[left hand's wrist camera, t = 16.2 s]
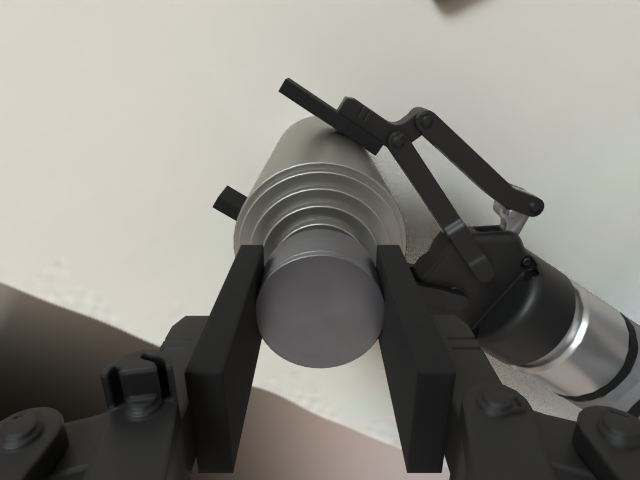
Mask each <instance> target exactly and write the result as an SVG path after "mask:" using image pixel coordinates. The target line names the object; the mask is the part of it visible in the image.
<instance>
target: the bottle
mask: <svg viewBox="0 0 640 480" xmlns="http://www.w3.org/2000/svg"><path fill="white" fill-rule="evenodd" d="M314 229H327V230H333V231H337V232H341V233H343V234H346V235H348V236H350V237H351V238H353V239H355V240H356V241H357V242H359V243H360V244H361V245H362V246H363V247H364V248H365V249H366V250H367V252H368V253H369V254H370V256H371V258H372V260H373V261H374V264H375V267H376V252H377V245H399V246H400V248H401V250H402V252H403V254H404V257H405V254H406V248H407V236H406V228H405V224H404V220H403V217H402V214H401V212H400V210H399V208H398V206H397V204H396V202H395V200H394V198H393V197H392V195H391V193H390V191H389V190H388V188H387V186H386V184H385V182H384V181H383V179H382V177H381V175H380V174H379V172H378V170H377V168H376V166H375V165H374V163H373V161H372V159H371V158H370V156H369V154H368V152H367V150H366V149H365V148H363V147H362V146H360V145H359V144H357V143H356V142H354V141H353V140H351V139H350V138H348V137H347V136H345V135H344V134H342V133H341V132H339V131H338V130H336V129H335V128H333V127H332V126H330V125H329V124H327V123H325V122H324V121H322V120H321V119H319V118H318V117H316V116H314V117H309V118H306V119H303V120H300V121H299V122H297V123H295V124H294V125H292V126H291V127H290V128H289V129H288V130H287V131H286V132H285V133H284V134H283V135H282V137H281V139H280V140H279V142H278V144H277V146H276V147H275V149H274V151H273V153H272V155H271V156H270V158H269V160H268V162H267V163H266V165H265V167H264V169H263V171H262V172H261V174H260V176H259V178H258V179H257V181H256V183H255V185H254V187H253V188H252V190H251V192H250V194H249V196H248V197H247V199H246V201H245V203H244V204H243V206H242V209H241V211H240V213H239V215H238V218H237V222H236V225H235V231H234V252H235V257H236V255H237V253H238V251H239V248H240V246H241V245H263V247H264V265H266V263H267V260H268V258H269V257H270V255H271V253H272V252H273V251H274V250H275V248H276V247H277V246H278V245H279V244H281V243H282V242H283V241H284V240H286V239H287V238H289V237H291V236H293V235H295V234H297V233H300V232H303V231H307V230H314Z"/></svg>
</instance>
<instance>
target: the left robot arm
mask: <svg viewBox="0 0 640 480" xmlns="http://www.w3.org/2000/svg"><path fill="white" fill-rule="evenodd" d="M264 269H265V265H264V247H263V245H241V246H240V248H239V251H238V253H237V255H236V257H235V260H234V262H233V264H232V266H231V269H230V271H229V273H228V275H227V277H226V280H225V282H224V284H223V286H222V289H221V291H220V293H219V295H218V298H217V300H216V302H215V304H214V307H213V309H212V311H211V313H210V316H185V317H184V318H182V319H181V320H180V321H179V322H177V323H176V324H175V325H173V326H172V328H171V330H170V331H169V333H168V335H167V337H166V338H165V341H164V342H163V344H162V345H161V347H160V351H157V350H141V351H136V352H132V353H128V354H126V355H124V356H122V357H119V358H117V359H116V360H114V361H113V362H112V363H110V364H109V365H107V366H106V368H105V369H104V370H103V372H102V373H101V374H100V377H101V381H102V385H103V389H104V394H105V398H106V402H107V406H108V411H107V412H106V413H103V414H100V415H97V416H93V417H89V418H85V419H81V420H76V421H72V422H68V423H64V421H63V417H62V415H61V414H60V413H59V412H58V411H57V410H56V409H52V408H48V407H40V408H31V409H27V410H24V411H21V412H18V413H15V414H13V415H11V416H10V417H8V418H6V419H4V420H2V421H0V480H191V479H190V474H191V471H192V468H193V464H194V461H195V458H197V464H198V471H199V473H233V471H234V466H235V461H236V457H237V452H238V447H239V443H240V438H241V433H242V429H243V424H244V419H245V415H246V410H247V405H248V401H249V396H250V391H251V387H252V382H253V377H254V373H255V368H256V364H257V359H258V354H259V350H260V345H261V340H262V337H261V335H260V333H259V331H258V328H257V318H256V298H257V294H258V290H259V287H260V283H261V279H262V276H263V272H264ZM376 270H377V274H378V278H379V281H380V285H381V288H382V292H383V295H384V299H385V306H384V322H383V329H382V331H381V334H380V336H379V337H378V339H379V344H380V348H381V353H382V358H383V362H384V367H385V372H386V376H387V381H388V386H389V390H390V395H391V400H392V404H393V409H394V414H395V418H396V423H397V428H398V432H399V437H400V442H401V446H402V451H403V455H404V460H405V465H406V469H407V473H441V472H442V466H443V460H444V455H445V458H446V461H447V465H448V468H449V471H450V479H449V480H640V419H638V418H636V417H635V416H633V415H631V414H629V413H627V412H625V411H622V410H619V409H616V408H613V407H608V406H598V405H595V406H590V407H585V408H584V409H583V410H582V411H581V412H580V413H579V415H578V418H577V422H575V421H571V420H567V419H563V418H558V417H554V416H550V415H546V414H543V413H539V412H536V411H534V410H532V408H531V406H530V405H529V403H528V401H527V400H526V399H525V398H524V397H523V396H522V395H521V394H519V393H518V392H517V391H516V390H513V389H511V388H509V387H507V386H505V385H503V384H502V383H501V381H500V380H499V378H498V376H497V374H496V373H495V371H494V369H493V367H492V366H491V364H490V362H489V360H488V359H487V357H486V355H485V354H484V352H483V350H481V347H480V345H479V343H478V341H477V340H475V336H474V334H473V333H472V331H471V329H470V327H469V326H468V325H467V324H466V323H465V322H464V321H462V320H461V319H460V318H458V317H457V316H456V315H430V313H429V310H428V308H427V306H426V304H425V302H424V299H423V297H422V295H421V293H420V290H419V288H418V286H417V284H416V281H415V279H414V277H413V275H412V272H411V270H410V268H409V266H408V263H407V261H406V259H405V257H404V254H403V252H402V250H401V248H400V246H399V245H377V252H376Z"/></svg>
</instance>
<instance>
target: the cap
mask: <svg viewBox="0 0 640 480" xmlns="http://www.w3.org/2000/svg"><path fill="white" fill-rule="evenodd" d="M384 306H385V299H384V295H383V292H382V288H381V285H380V281H379V278H378V274H377V270H376V267H375V264H374V261H373V260H372V258H371V256H370V254H369V253H368V252H367V250H366V249H365V248H364V247H363V246H362V245H361V244H360V243H359V242H357V241H356V240H355V239H353V238H351V237H350V236H348V235H346V234H343V233H341V232H337V231H333V230H327V229H314V230H307V231H303V232H300V233H297V234H295V235H293V236H291V237H289V238H287V239H286V240H284V241H283V242H282V243H281V244H279V245H278V246H277V247H276V248H275V250H274V251H273V252H272V253H271V255H270V257H269V258H268V260H267V263H266V265H265V269H264V272H263V276H262V279H261V283H260V287H259V290H258V294H257V298H256V318H257V328H258V331H259V333H260V335H261V337H262V338H263V340H264V341H265V343H266V344H267V345H268V346H269V347H270V348H271V349H272V350H273V351H274V352H275V353H276V354H277V355H279V356H280V357H282V358H283V359H285V360H287V361H289V362H292V363H294V364H297V365H300V366H304V367H310V368H331V367H336V366H340V365H343V364H346V363H349V362H351V361H353V360H355V359H357V358H358V357H360V356H361V355H363V354H364V353H366V352H367V351H368V350H369V349H370V348H371V347H372V346H373V344H374V343H375V342H376V341H377V339H378V337H379V336H380V334H381V331H382V329H383V322H384Z"/></svg>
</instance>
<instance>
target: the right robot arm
mask: <svg viewBox="0 0 640 480" xmlns="http://www.w3.org/2000/svg"><path fill="white" fill-rule="evenodd" d="M279 92H280V93H282V94H283V95H285V96H286V97H288V98H289V99H291V100H292V101H294V102H295V103H297V104H298V105H300V106H301V107H303V108H304V109H306V110H307V111H309V112H310V113H312V114H313V115H315V116H316V117H318V118H319V119H321V120H322V121H324V122H325V123H327V124H329V125H330V126H332V127H333V128H335V129H336V130H338V131H339V132H341V133H342V134H344V135H345V136H347V137H348V138H350V139H351V140H353V141H354V142H356V143H357V144H359V145H360V146H362V147H363V148H365V149H366V150H368V151H369V152H371V153H372V154H374V155H375V156H376V154H377V153H378V152H379V150H380V149H381V147H382V146H383V145H384V146H386V147H387V148H388V149H389V151H390V152H391V154H392V155H393V157H394V158H395V160H396V161H397V163H398V164H399V166H400V167H401V169H402V170H403V172H404V173H405V175H406V176H407V178H408V179H409V180H410V182H411V183H412V185H413V186H414V188H415V189H416V191H417V192H418V194H419V195H420V197H421V198H422V200H423V201H424V203H425V204H426V206H427V207H428V209H429V210H430V212H431V213H432V215H433V216H434V218H435V219H436V221H437V222H438V224H439V225H440V227H441V228H442V230H443V231H444V233H443V232H441V231H440V233H439V234H438V235H437V236H436V238H435V239H434V240H433V243H432V245H431V247H430V249H429V251H427V252H426V253H425V254H424V255H422V256H421V257H420V258H419V259H418V260H417V261H416V263H415V264H409V263H408V266H409V268H410V270H411V272H412V275H413V277H414V279H415V281H416V284H417V286H418V288H419V290H420V293H421V295H422V297H423V299H424V302H425V304H426V306H427V308H428V310H429V313H430V315H456V316H457V317H458V318H460V319H461V320H462V321H464V322H465V323H466V324H467V325H468V326H469V327H470V329H471V331H472V333H473V334H474V336H475V340H477V341H478V343H479V345H480V347H481V350H483V351H484V352H486V353H487V354H489V355H491V356H493V357H494V358H496V359H498V360H499V361H501V362H503V363H505V364H508V365H509V366H510V367H512V368H513V369H514V370H516V371H518V372H519V373H521V374H523V375H525V376H527V377H528V378H530V379H532V380H534V381H535V382H537V383H539V384H541V385H543V386H544V387H546V388H548V389H550V390H551V391H553V392H554V393H556V394H558V395H559V396H562V397H563V398H565V399H567V400H568V401H570V402H572V403H573V404H575V405H576V406H578V407H580V408H581V409H584V408H585V407H590V406H595V405H598V406H608V407H613V408H616V409H619V410H622V411H625V412H627V413H629V414H631V415H633V416H635V417H636V418H638V419H640V325H638V324H636V323H635V322H633V321H632V320H630V319H629V318H627V317H625V316H624V315H623V314H622V313H621V312H619V311H618V310H617V309H615V308H614V307H612V306H611V305H609V304H608V303H606V302H605V301H603V300H602V299H600V298H599V297H597V296H596V295H594V294H593V293H591V292H590V291H588V290H587V289H585V288H584V287H582V286H581V285H579V284H578V283H576V282H574V281H573V280H571V279H569V278H568V277H567V276H566V275H564V274H563V273H562V272H560V271H559V270H557V269H556V268H554V267H553V266H551V265H550V264H548V263H547V262H545V261H544V260H542V259H541V258H539V257H538V256H536V255H535V254H533V253H532V252H530V251H529V250H527V249H526V248H525V247H524V245H523V243H522V240H521V238H520V237H519V236H518V235H519V233H520V231H521V230H522V228H523V226H524V225H525V223H526V221H527V219H528V218H529V216H530V217H535V216H538V215H539V214H541V212H542V211H543V209H544V203H543V201H542V200H541V199H539V198H538V197H536V196H534V195H533V194H531V193H529V192H528V191H526V190H524V189H522V188H520V187H517V186H515V185H512V184H509V183H508V182H507V181H505V180H504V179H503V178H502V177H501V176H500V175H499V174H498V173H497V172H496V171H495V170H494V169H493V168H492V167H491V166H490V165H489V164H488V163H486V162H485V161H484V160H483V159H482V158H481V157H480V156H479V155H478V154H477V153H476V152H475V151H474V150H473V149H472V148H471V147H470V146H468V145H467V144H466V143H465V142H464V141H463V140H462V139H461V138H460V137H459V136H458V135H457V134H456V133H455V132H454V131H453V130H452V129H450V128H449V127H448V126H447V125H446V124H445V123H444V122H443V121H442V120H441V119H440V118H439V117H438V116H437V115H436V114H435V113H433V112H432V111H429V110H427V109H424V108H422V107H415V108H413V109H412V110H411V111H410V112H409V114H407V115H406V116H405V117H403V118H402V119H401V120H399V121H396V122H389V121H387V120H385V119H384V118H382V117H381V116H379V115H378V114H376V113H375V112H373V111H372V110H370V109H369V108H368V107H366V106H365V105H363V104H362V103H360V102H359V101H357V100H356V99H354V98H350V97H345V98H344V99H343V101H342V102H341V104H340V106H339V107H338V109H337V110H336V109H334V108H333V107H331V106H330V105H328V104H327V103H325V102H324V101H322V100H321V99H319V98H318V97H317V96H315V95H314V94H312V93H311V92H309V91H308V90H306V89H305V88H303V87H302V86H300V85H299V84H297V83H296V82H294V81H293V80H291V79H290V78H287V79H285V81H284V83H283V84H282V86H281V88H280V90H279ZM421 135H422V136H423V137H425V138H426V139H427V140H428V141H429V142H430V143H431V144H432V145H433V146H434V147H435V148H437V149H438V150H439V151H440V152H441V153H442V154H443V155H444V156H445V157H446V158H447V159H448V160H450V161H451V162H452V163H453V164H454V165H455V166H456V167H457V168H458V169H459V170H460V171H462V172H463V173H464V174H465V175H466V176H467V177H468V178H469V179H470V180H471V181H472V182H474V183H475V184H476V185H477V186H478V187H479V188H480V189H481V190H483V191H484V192H485V193H486V194H488V195H489V196H490V197H492V198H493V199H494V200H495V201H494V205H493V210H494V212H495V213H496V214H498V215H499V216H500V218H501V223H500V225H492V226H473V227H467V226H466V225H465V224H464V222H463V221H462V220H461V218H460V217H459V215H458V214H457V212H456V211H455V209H454V208H453V206H452V205H451V203H450V201H449V200H448V198H447V197H446V195H445V194H444V192H443V191H442V189H441V188H440V186H439V185H438V183H437V181H436V180H435V178H434V177H433V175H432V174H431V172H430V171H429V169H428V168H427V166H426V165H425V163H424V161H423V160H422V158H421V157H420V155H419V154H418V152H417V151H416V149H415V148H414V146H413V145H412V142H413V141H414V140H416V139H417V138H418V137H420V136H421ZM246 199H247V197H246V196H244V195H243V194H241V193H239V192H238V191H236V190H234V189H232V188H231V187H229V186H227V187H226V188H225V189H224V190H223V192H222V193H221V194H220V195H219V197H218V198H217V200H216V202H215V204H214V205H213V208H215V209H217V210H218V211H220V212H222V213H224V214H225V215H227V216H229V217H231V218H232V219H234V220H236V221H237V218H238V215H239V213H240V211H241V209H242V206H243V204H244V203H245V201H246Z"/></svg>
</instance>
